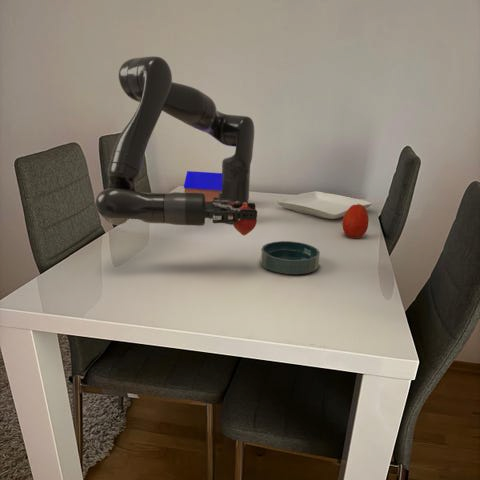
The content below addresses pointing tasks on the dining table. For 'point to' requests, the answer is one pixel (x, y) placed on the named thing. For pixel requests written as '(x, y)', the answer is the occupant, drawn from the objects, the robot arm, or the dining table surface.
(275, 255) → the bowl
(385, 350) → the dining table surface
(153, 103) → the robot arm
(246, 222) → the red lemon
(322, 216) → the square plate
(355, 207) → the red egg
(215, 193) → the house
